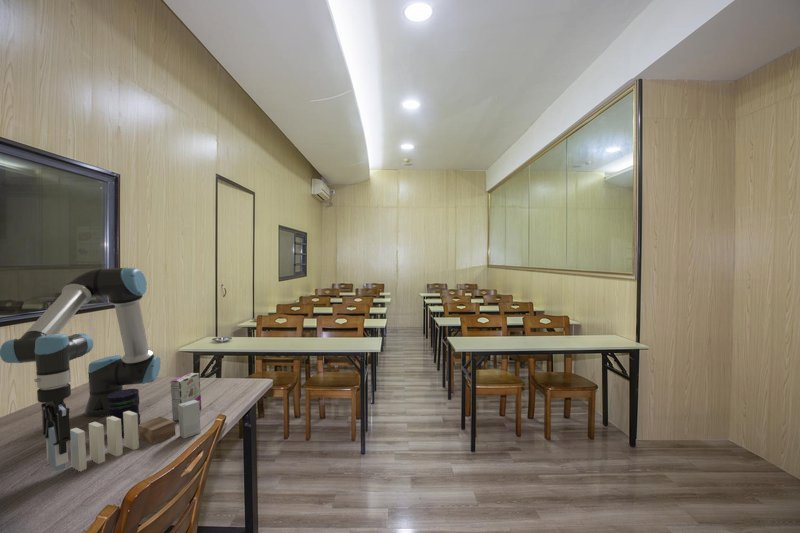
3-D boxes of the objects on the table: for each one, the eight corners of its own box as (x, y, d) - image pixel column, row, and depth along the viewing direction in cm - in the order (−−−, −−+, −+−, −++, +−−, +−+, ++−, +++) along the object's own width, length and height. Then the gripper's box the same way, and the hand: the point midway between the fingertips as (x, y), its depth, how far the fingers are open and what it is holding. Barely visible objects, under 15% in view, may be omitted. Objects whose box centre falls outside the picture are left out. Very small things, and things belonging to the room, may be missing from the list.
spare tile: (50, 466, 116) (48, 427, 116) (57, 463, 117) (55, 425, 117) (58, 471, 113) (56, 431, 113) (65, 468, 114) (63, 428, 114)
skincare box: (196, 430, 144) (195, 398, 144) (201, 433, 142) (199, 401, 141) (178, 436, 140) (177, 403, 139) (183, 439, 137) (182, 406, 137)
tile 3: (108, 452, 129) (106, 417, 129) (114, 450, 131) (112, 415, 130) (116, 456, 126) (114, 421, 126) (122, 454, 128) (120, 419, 127)
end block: (138, 438, 139) (137, 424, 139) (160, 429, 146) (160, 416, 146) (152, 444, 134) (151, 430, 134) (175, 434, 141) (174, 421, 141)
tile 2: (90, 459, 125) (88, 423, 124) (96, 456, 126) (95, 421, 126) (98, 463, 122) (96, 427, 121) (105, 461, 123) (103, 425, 123)
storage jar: (106, 440, 138) (104, 399, 138) (112, 429, 147) (110, 391, 147) (138, 433, 143) (137, 394, 143) (142, 423, 152) (140, 386, 151)
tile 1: (71, 466, 120) (69, 429, 120) (78, 464, 122) (76, 427, 122) (79, 471, 117) (77, 433, 117) (86, 468, 119) (84, 431, 119)
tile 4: (124, 445, 133) (123, 412, 133) (130, 443, 135) (128, 410, 135) (133, 449, 130) (131, 415, 130) (138, 447, 132) (137, 413, 132)
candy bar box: (191, 409, 165) (190, 372, 164) (201, 410, 164) (200, 372, 163) (171, 420, 154) (169, 380, 153) (182, 421, 153) (180, 381, 152)
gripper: (26, 385, 116) (29, 459, 117) (50, 394, 107) (54, 475, 107) (57, 378, 123) (60, 448, 123) (82, 386, 113) (86, 462, 114)
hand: (57, 460), depth 115 cm, fingers closed on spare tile, 6 cm apart
